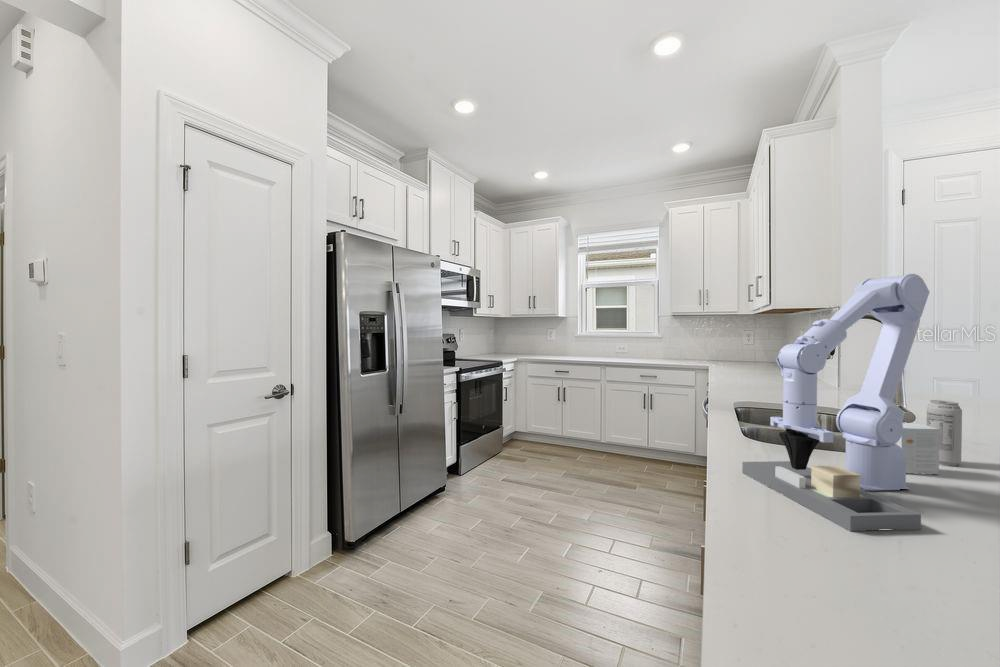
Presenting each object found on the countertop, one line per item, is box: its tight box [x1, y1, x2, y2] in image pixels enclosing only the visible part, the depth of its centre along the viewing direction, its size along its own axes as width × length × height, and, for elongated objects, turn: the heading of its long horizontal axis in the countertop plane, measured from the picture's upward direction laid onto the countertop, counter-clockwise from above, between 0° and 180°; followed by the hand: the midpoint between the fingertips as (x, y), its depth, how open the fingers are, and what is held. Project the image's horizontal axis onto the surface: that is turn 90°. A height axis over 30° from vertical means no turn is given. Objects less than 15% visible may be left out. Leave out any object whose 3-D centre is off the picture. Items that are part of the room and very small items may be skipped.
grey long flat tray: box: [741, 460, 922, 532], centre depth 83 cm, size 12×28×4 cm, turn 3°
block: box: [810, 465, 861, 498], centre depth 79 cm, size 5×5×4 cm
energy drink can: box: [925, 399, 963, 467], centre depth 105 cm, size 6×6×15 cm
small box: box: [895, 422, 940, 475], centre depth 99 cm, size 8×6×10 cm
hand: (798, 468), depth 88 cm, fingers closed
